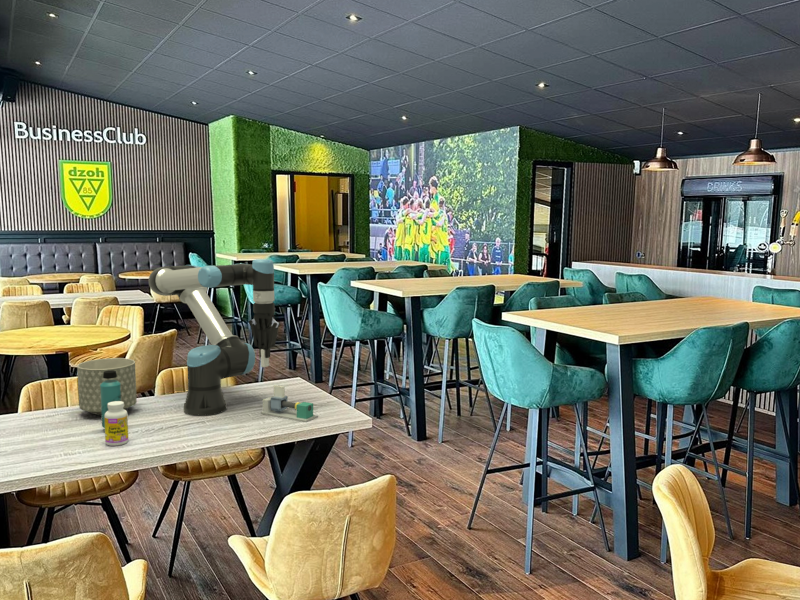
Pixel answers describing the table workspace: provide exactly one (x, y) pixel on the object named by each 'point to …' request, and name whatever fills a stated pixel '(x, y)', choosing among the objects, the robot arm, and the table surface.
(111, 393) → the beverage bottle
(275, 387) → the pale blue hollow box
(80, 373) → the planter
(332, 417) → the table surface
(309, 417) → the slider rail
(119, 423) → the supplement bottle
